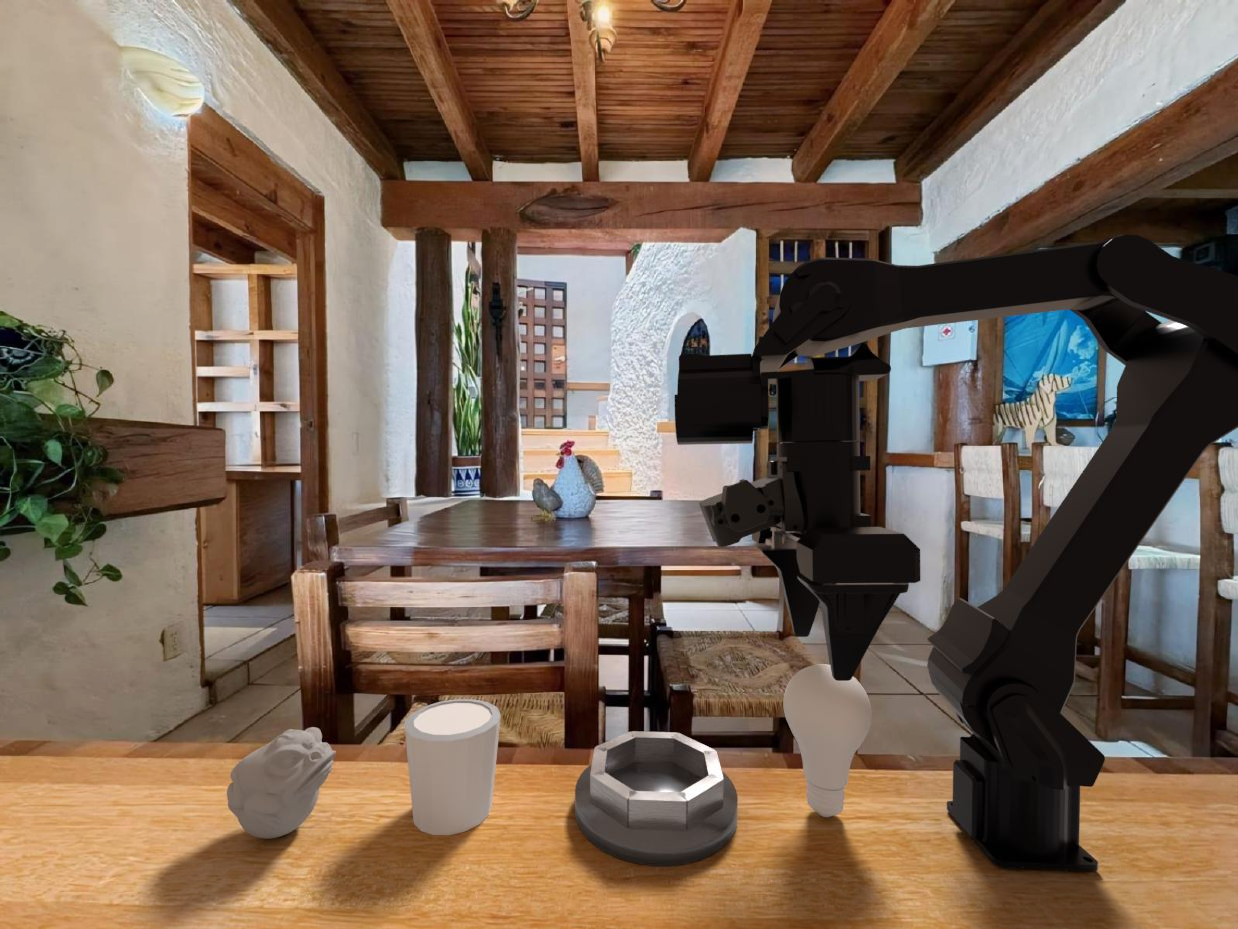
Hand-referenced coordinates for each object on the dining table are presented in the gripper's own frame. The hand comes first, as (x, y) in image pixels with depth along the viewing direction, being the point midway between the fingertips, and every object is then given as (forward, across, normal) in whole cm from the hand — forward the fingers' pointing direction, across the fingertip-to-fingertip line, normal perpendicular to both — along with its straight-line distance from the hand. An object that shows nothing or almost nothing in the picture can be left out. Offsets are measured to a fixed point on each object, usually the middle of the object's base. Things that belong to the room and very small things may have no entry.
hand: (819, 655), depth 42 cm
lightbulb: (+12, 0, 0) cm, 12 cm away
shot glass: (+12, 0, -27) cm, 30 cm away
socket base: (+12, 0, -12) cm, 17 cm away
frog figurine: (+11, +3, -38) cm, 40 cm away
